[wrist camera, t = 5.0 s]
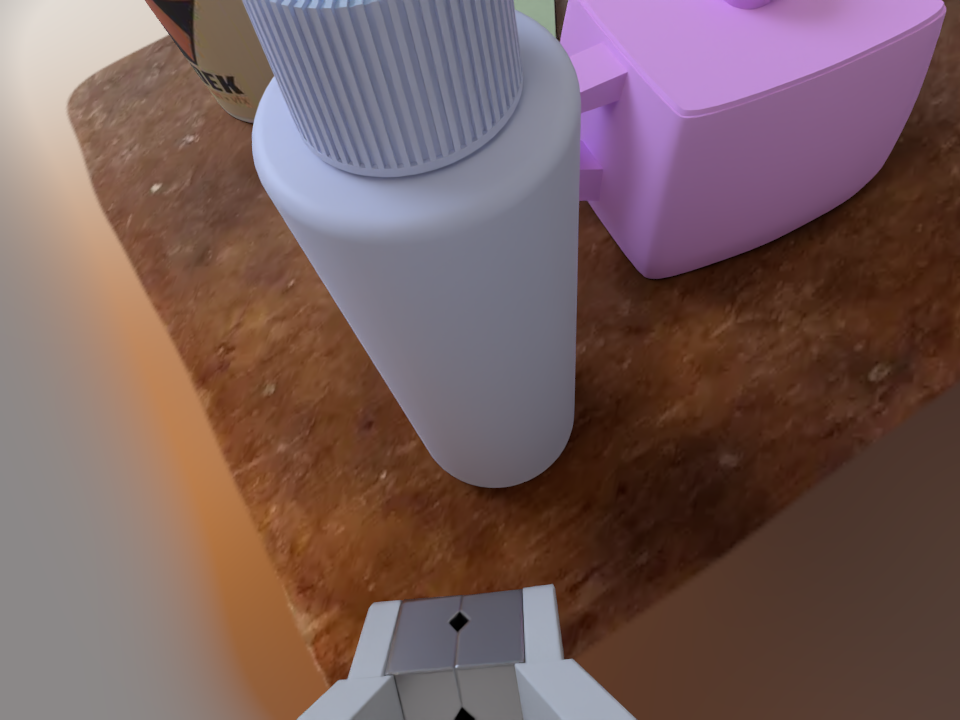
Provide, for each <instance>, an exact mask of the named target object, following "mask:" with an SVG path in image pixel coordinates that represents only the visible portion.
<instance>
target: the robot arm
mask: <svg viewBox="0 0 960 720" xmlns="http://www.w3.org/2000/svg"><path fill="white" fill-rule="evenodd" d="M297 720H637V719H636V718H635V717H634V716H633V715H632V714H630V713H629V712H628V711H627V710H626V709H625V708H624V707H623V706H622V705H621V704H620V703H619V702H618V701H617V700H616V699H615V698H614V697H613V696H612V695H610V693H608V692H607V691H606V690H605V689H604V688H603V687H602V686H601V685H600V684H599V683H598V682H597V681H596V680H595V679H594V678H593V677H592V676H591V675H590V674H589V673H587V672H586V671H585V670H584V669H583V668H582V667H581V666H580V665H579V664H578V663H577V662H576V661H575V660H574V659H565V660H564V653H563V645H562V637H561V630H560V622H559V615H558V607H557V599H556V592H555V587H554V586H553V584H550V585H542V586H534V587H527V588H523V589H519V590H509V591H500V592H491V593H481V594H472V595H457V596H444V597H431V598H418V599H405V600H403V601H402V600H396V601H385V602H374V603H373V604H372V605H371V606H370V608H369V609H368V613H367V616H366V619H365V623H364V626H363V629H362V633H361V636H360V639H359V643H358V646H357V649H356V653H355V656H354V659H353V662H352V666H351V669H350V672H349V676H348V679H346V680H338V681H337V682H336V683H335V684H334V685H333V686H332V687H331V688H330V689H329V690H327V691H326V692H325V693H324V694H323V695H322V696H321V697H320V698H319V699H318V700H317V701H316V702H315V703H314V704H313V705H311V706H310V707H309V708H308V709H307V710H306V711H305V712H304V713H303V714H302V715H301V716H300V717H299V718H298V719H297Z"/></svg>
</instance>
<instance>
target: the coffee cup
mask: <svg viewBox="0 0 960 720" xmlns="http://www.w3.org/2000/svg"><path fill="white" fill-rule="evenodd" d="M145 1H146V3H147V4H148V5H149V7H150V8H151V10H152V11H153V12H154V14H155V15H156V17H157V18H158V19H159V21H160V22H161V24H162V25H163V26H164V28H165V29H166V31H167V32H168V34H169V35H170V36H171V38H172V39H173V41H174V42H175V43H176V45H177V46H178V48H179V49H180V50H181V52H182V53H183V55H184V56H185V57H186V59H187V60H188V62H189V63H190V64H191V66H192V67H193V69H194V70H195V71H196V73H197V74H198V76H199V77H200V78H201V80H202V81H203V83H204V84H205V85H206V87H207V88H208V90H209V91H210V92H211V94H212V95H213V96H214V98H215V99H216V100H217V102H218V103H219V104H220V105H221V107H222V108H223V109H224V110H225V111H226V112H227V113H229V114H230V115H231V116H233V117H235V118H237V119H239V120H242V121H245V122H249V123H254V119H255V115H256V112H257V109H258V106H259V102H260V100H261V98H262V96H263V94H264V92H265V90H266V88H267V86H268V85H269V83H270V82H271V80H272V78H273V77H274V74H273V72H272V69H271V67H270V65H269V62H268V60H267V58H266V55H265V53H264V51H263V48H262V46H261V44H260V41H259V39H258V37H257V34H256V32H255V30H254V27H253V25H252V23H251V20H250V18H249V16H248V13H247V11H246V9H245V6H244V4H243V2H242V0H145Z"/></svg>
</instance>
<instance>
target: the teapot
mask: <svg viewBox="0 0 960 720" xmlns="http://www.w3.org/2000/svg"><path fill="white" fill-rule="evenodd" d="M945 13H946V7H945V6H944V2H943V1H942V0H568V4H567V9H566V14H565V19H564V23H563V28H562V34H561V39H560V44H561V45H562V46H563V48H564V49H565V51H566V52H567V54H568V56H569V58H570V60H571V62H572V64H573V66H574V68H575V71H576V74H577V78H578V81H579V86H580V96H581V131H580V177H579V201H588V203H589V204H590V206H591V207H592V209H593V210H594V212H595V213H596V215H597V216H598V218H599V219H600V220H601V222H602V223H603V225H604V226H605V228H606V229H607V230H608V232H609V233H610V235H611V236H612V237H613V239H614V240H615V242H616V243H617V244H618V246H619V247H620V248H621V250H622V251H623V253H624V254H625V255H626V257H627V258H628V259H629V260H630V262H631V263H632V264H633V265H634V267H635V268H636V269H637V270H638V271H639V272H640V273H641V274H642V275H643V276H644V277H646V278H649V279H661V278H666V277H671V276H675V275H678V274H682V273H685V272H689V271H692V270H695V269H698V268H701V267H704V266H707V265H710V264H713V263H716V262H719V261H722V260H725V259H728V258H730V257H733V256H736V255H739V254H741V253H744V252H747V251H750V250H752V249H754V248H757V247H759V246H762V245H764V244H766V243H769V242H771V241H773V240H775V239H777V238H779V237H781V236H783V235H785V234H787V233H789V232H791V231H793V230H795V229H797V228H799V227H801V226H803V225H805V224H806V223H808V222H810V221H812V220H814V219H816V218H818V217H819V216H821V215H823V214H825V213H827V212H829V211H830V210H832V209H834V208H835V207H837V206H838V205H840V204H842V203H843V202H845V201H846V200H848V199H849V198H850V197H852V196H853V195H855V194H856V193H857V192H858V191H859V190H860V189H861V188H863V187H864V186H865V185H866V184H867V183H868V182H869V181H870V180H871V179H872V178H873V177H874V176H875V175H876V174H877V173H878V171H879V170H880V169H881V168H882V166H883V165H884V163H885V161H886V160H887V158H888V156H889V155H890V153H891V151H892V149H893V147H894V145H895V143H896V141H897V140H898V138H899V136H900V134H901V132H902V130H903V128H904V126H905V124H906V122H907V120H908V117H909V115H910V113H911V111H912V109H913V106H914V104H915V102H916V99H917V97H918V95H919V92H920V89H921V87H922V84H923V81H924V78H925V76H926V73H927V70H928V67H929V64H930V61H931V58H932V55H933V52H934V49H935V46H936V43H937V40H938V37H939V34H940V31H941V27H942V24H943V20H944V17H945Z"/></svg>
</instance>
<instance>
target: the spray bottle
mask: <svg viewBox="0 0 960 720" xmlns="http://www.w3.org/2000/svg"><path fill="white" fill-rule="evenodd" d="M242 2H243V4H244V6H245V9H246V11H247V13H248V16H249V18H250V20H251V23H252V25H253V27H254V30H255V32H256V34H257V37H258V39H259V41H260V44H261V46H262V48H263V51H264V53H265V55H266V58H267V60H268V62H269V65H270V67H271V69H272V72H273V74H274V77H273V78H272V80H271V82H270V83H269V85H268V86H267V88H266V90H265V92H264V94H263V96H262V98H261V100H260V102H259V106H258V109H257V112H256V115H255V119H254V124H253V130H252V153H253V158H254V163H255V168H256V170H257V173H258V176H259V178H260V181H261V183H262V185H263V187H264V188H265V190H266V192H267V193H268V195H269V197H270V198H271V200H272V201H273V203H274V205H275V206H276V208H277V209H278V211H279V213H280V214H281V216H282V217H283V219H284V221H285V222H286V224H287V225H288V227H289V229H290V230H291V232H292V233H293V235H294V237H295V238H296V240H297V241H298V243H299V245H300V246H301V248H302V249H303V251H304V253H305V254H306V256H307V257H308V259H309V261H310V262H311V264H312V265H313V267H314V269H315V270H316V272H317V273H318V275H319V277H320V278H321V280H322V282H323V283H324V285H325V286H326V288H327V290H328V291H329V293H330V294H331V296H332V298H333V299H334V301H335V302H336V304H337V306H338V307H339V309H340V310H341V312H342V314H343V315H344V317H345V318H346V320H347V322H348V323H349V325H350V326H351V328H352V330H353V331H354V333H355V334H356V336H357V338H358V339H359V341H360V342H361V344H362V346H363V347H364V349H365V350H366V352H367V354H368V355H369V357H370V358H371V360H372V362H373V363H374V365H375V366H376V368H377V370H378V371H379V373H380V374H381V376H382V378H383V379H384V381H385V382H386V384H387V386H388V387H389V389H390V390H391V392H392V394H393V395H394V397H395V398H396V400H397V402H398V403H399V405H400V406H401V408H402V410H403V411H404V413H405V414H406V416H407V418H408V419H409V421H410V422H411V424H412V426H413V427H414V429H415V430H416V432H417V434H418V435H419V437H420V438H421V440H422V442H423V443H424V445H425V446H426V448H427V450H428V451H429V453H430V454H431V456H432V457H433V458H434V460H435V461H436V462H437V463H438V464H439V465H440V466H441V467H442V468H443V469H444V470H445V471H446V472H448V473H449V474H451V475H452V476H454V477H455V478H457V479H459V480H461V481H463V482H466V483H468V484H471V485H475V486H479V487H487V488H502V487H510V486H514V485H518V484H521V483H523V482H526V481H529V480H531V479H532V478H534V477H536V476H538V475H539V474H541V473H542V472H544V471H545V470H546V469H547V468H548V467H550V466H551V465H552V464H553V463H554V462H555V460H556V459H557V458H558V457H559V456H560V454H561V453H562V451H563V450H564V448H565V446H566V444H567V442H568V440H569V437H570V434H571V431H572V427H573V422H574V406H575V360H576V314H577V268H578V223H579V177H580V131H581V96H580V86H579V81H578V78H577V74H576V71H575V68H574V66H573V64H572V62H571V60H570V58H569V56H568V54H567V52H566V51H565V49H564V48H563V46H562V45H561V44H560V42H559V41H558V40H557V39H556V38H555V37H554V36H553V35H552V34H551V33H550V32H549V31H548V30H547V29H546V28H545V27H543V26H542V25H541V24H539V23H538V22H537V21H535V20H534V19H532V18H531V17H529V16H527V15H525V14H524V13H522V12H520V11H517V10H515V8H514V0H242Z"/></svg>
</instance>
